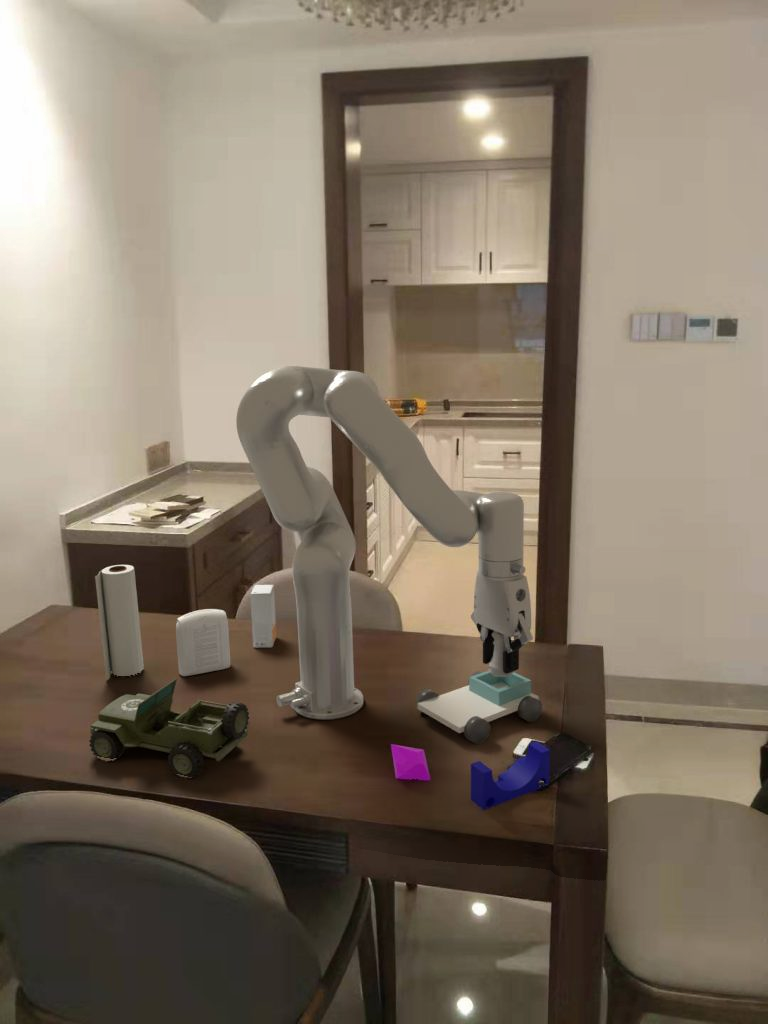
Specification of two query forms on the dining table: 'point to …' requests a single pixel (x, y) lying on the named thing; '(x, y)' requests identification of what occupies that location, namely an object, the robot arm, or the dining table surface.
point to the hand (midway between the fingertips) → (500, 665)
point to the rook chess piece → (498, 656)
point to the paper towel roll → (119, 620)
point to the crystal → (409, 763)
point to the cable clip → (510, 778)
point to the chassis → (481, 703)
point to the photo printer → (202, 642)
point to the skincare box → (263, 616)
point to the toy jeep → (169, 729)
